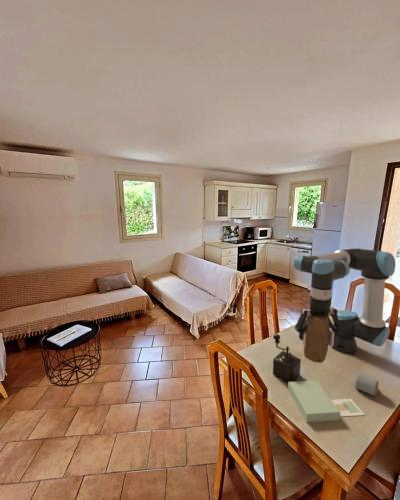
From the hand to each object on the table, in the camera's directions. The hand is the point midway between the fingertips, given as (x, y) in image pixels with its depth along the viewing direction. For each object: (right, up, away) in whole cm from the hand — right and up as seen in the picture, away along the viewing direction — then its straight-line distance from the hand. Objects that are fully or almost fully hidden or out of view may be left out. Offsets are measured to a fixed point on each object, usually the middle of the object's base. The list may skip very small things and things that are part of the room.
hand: (316, 345), depth 94 cm
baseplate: (+1, -28, +5) cm, 29 cm away
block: (0, -5, +1) cm, 5 cm away
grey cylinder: (+31, -27, +13) cm, 42 cm away
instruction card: (+15, -28, +3) cm, 32 cm away
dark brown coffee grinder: (-5, -25, +25) cm, 36 cm away
